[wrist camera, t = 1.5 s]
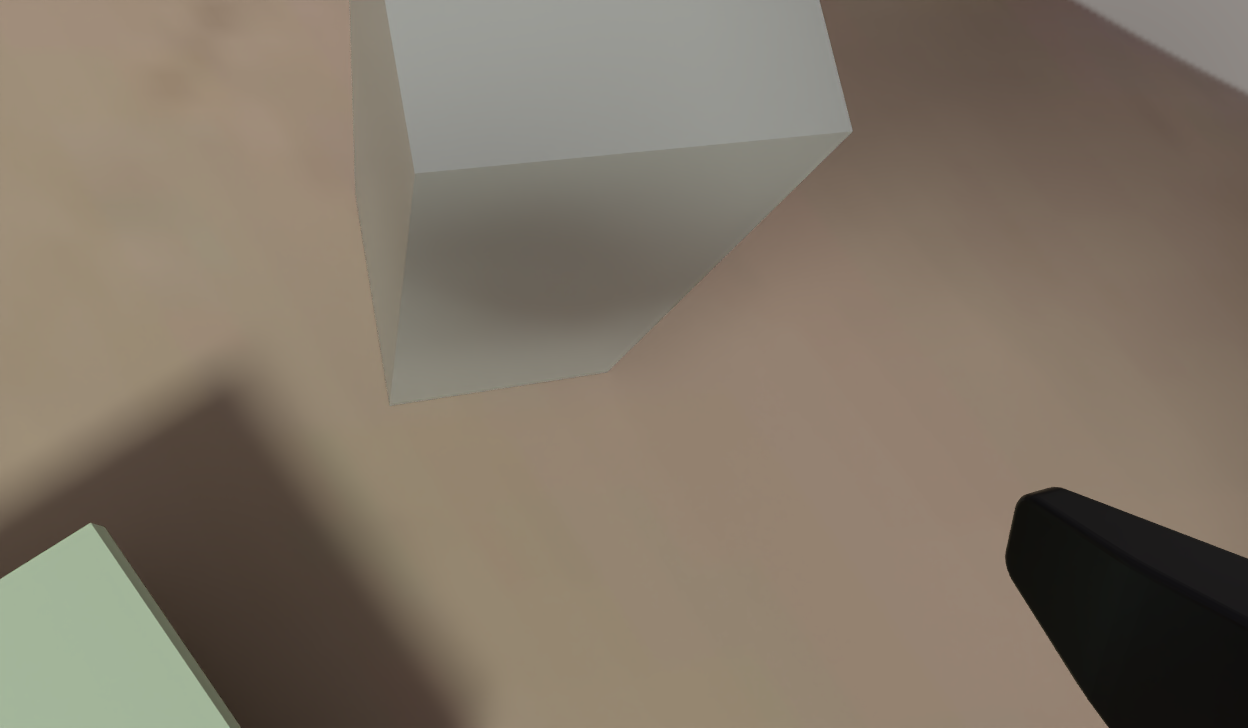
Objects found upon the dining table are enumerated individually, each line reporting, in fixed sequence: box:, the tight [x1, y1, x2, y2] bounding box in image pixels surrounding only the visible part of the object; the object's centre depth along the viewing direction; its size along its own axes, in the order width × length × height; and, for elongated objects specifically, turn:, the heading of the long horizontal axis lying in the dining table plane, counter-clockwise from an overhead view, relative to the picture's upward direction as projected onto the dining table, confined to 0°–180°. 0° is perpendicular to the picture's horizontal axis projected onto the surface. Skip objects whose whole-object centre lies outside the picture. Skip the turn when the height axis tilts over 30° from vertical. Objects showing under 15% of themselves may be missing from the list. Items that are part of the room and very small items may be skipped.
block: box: [349, 0, 853, 406], centre depth 18 cm, size 5×5×13 cm
